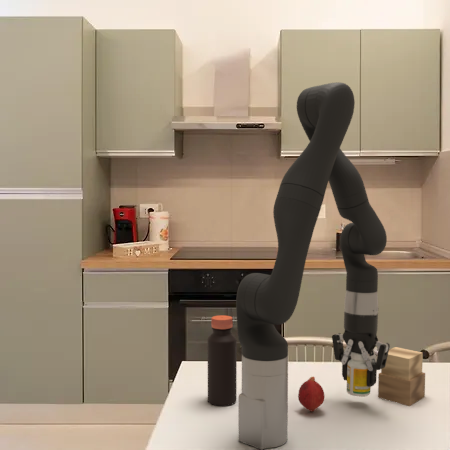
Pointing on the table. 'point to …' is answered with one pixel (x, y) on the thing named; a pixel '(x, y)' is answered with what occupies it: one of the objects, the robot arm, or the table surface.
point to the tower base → (401, 389)
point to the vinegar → (222, 362)
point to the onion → (311, 394)
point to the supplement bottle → (357, 376)
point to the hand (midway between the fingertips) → (358, 382)
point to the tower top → (403, 363)
